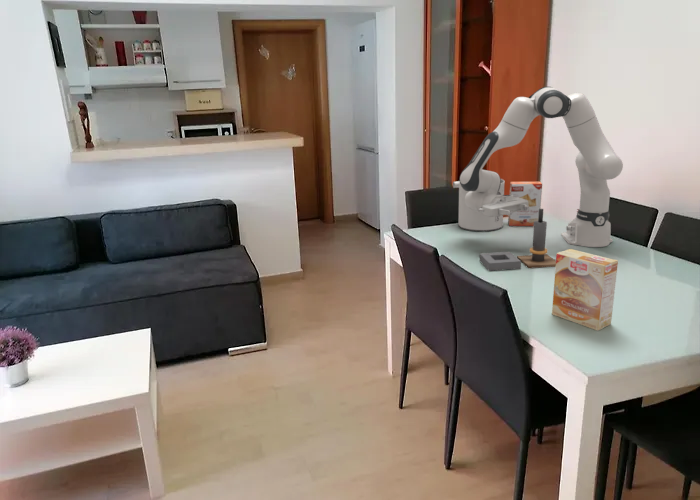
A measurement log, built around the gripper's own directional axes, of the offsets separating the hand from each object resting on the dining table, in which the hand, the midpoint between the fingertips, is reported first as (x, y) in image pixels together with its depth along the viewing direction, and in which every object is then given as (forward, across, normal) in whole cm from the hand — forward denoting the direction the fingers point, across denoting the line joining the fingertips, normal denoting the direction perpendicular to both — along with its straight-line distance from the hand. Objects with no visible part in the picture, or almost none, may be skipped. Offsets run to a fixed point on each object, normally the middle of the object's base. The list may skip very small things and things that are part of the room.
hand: (519, 211), depth 208 cm
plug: (+11, -1, +17) cm, 20 cm away
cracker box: (-32, +35, +19) cm, 51 cm away
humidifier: (-45, +16, +18) cm, 51 cm away
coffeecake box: (+54, -29, +18) cm, 64 cm away
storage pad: (+11, -1, +18) cm, 21 cm away
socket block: (+5, -14, +18) cm, 23 cm away
